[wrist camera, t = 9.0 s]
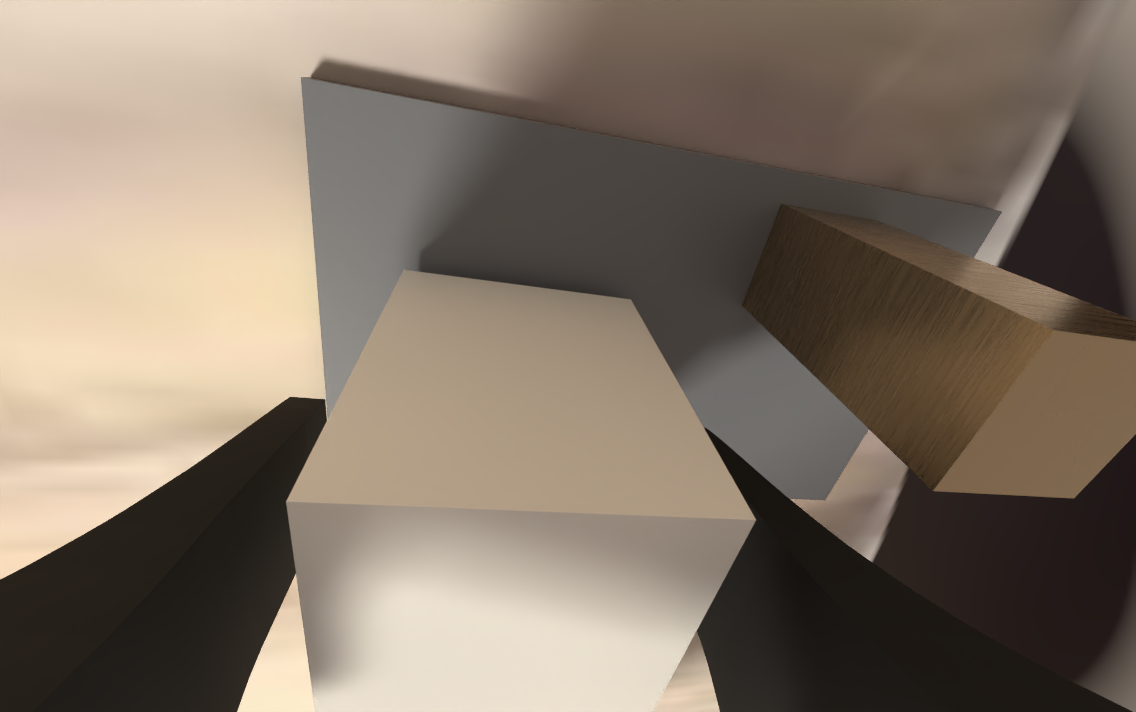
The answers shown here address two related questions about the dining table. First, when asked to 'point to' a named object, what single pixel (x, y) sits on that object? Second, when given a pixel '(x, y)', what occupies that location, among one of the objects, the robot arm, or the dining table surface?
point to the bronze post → (950, 354)
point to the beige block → (508, 509)
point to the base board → (591, 249)
